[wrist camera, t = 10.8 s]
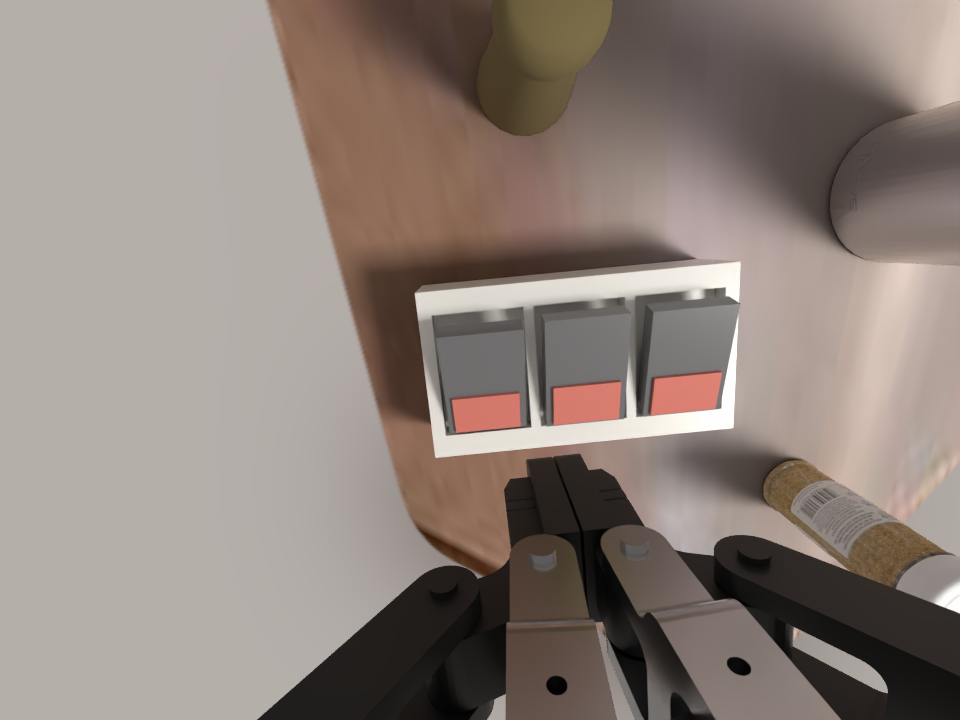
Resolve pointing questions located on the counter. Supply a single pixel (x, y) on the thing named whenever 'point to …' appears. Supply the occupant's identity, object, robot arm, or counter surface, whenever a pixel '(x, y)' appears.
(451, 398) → the switch
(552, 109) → the cork
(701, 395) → the switch
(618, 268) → the white switch panel
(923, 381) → the counter surface
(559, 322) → the switch middle
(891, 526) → the sprinkles bottle
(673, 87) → the counter surface
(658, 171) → the counter surface
